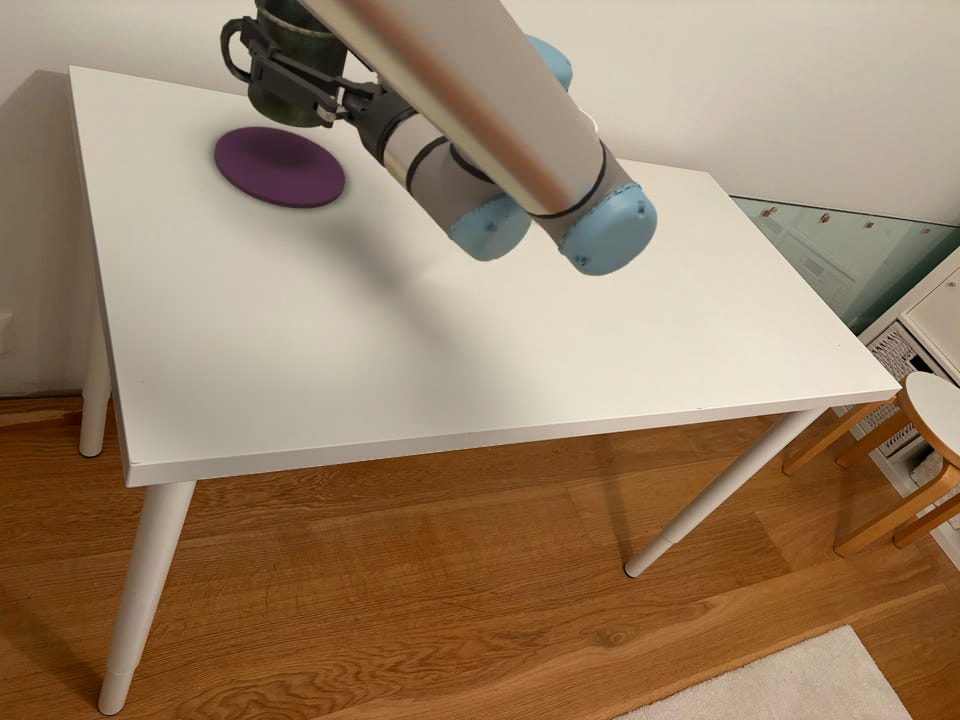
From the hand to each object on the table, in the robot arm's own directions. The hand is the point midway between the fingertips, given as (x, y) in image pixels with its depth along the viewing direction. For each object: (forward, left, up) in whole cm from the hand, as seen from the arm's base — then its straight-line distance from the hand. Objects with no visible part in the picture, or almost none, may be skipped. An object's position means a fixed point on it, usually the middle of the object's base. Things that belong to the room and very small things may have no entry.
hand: (297, 29), depth 81 cm
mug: (0, 0, -10) cm, 10 cm away
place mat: (+2, -1, -17) cm, 17 cm away
